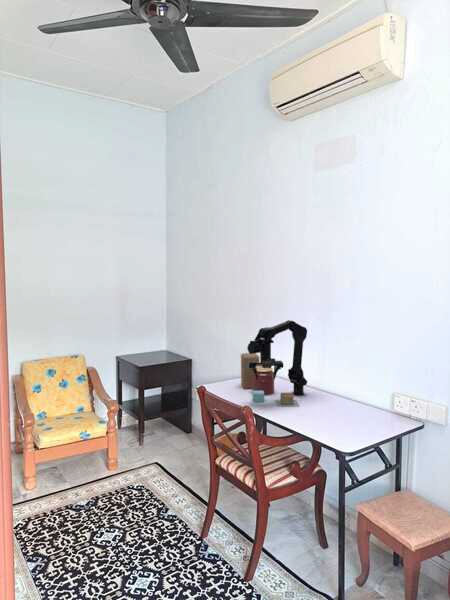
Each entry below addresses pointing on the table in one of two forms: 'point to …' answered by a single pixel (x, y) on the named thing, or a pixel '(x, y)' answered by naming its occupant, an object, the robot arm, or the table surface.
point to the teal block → (258, 396)
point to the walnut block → (287, 398)
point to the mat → (279, 404)
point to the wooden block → (247, 369)
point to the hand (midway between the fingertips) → (265, 379)
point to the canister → (263, 380)
